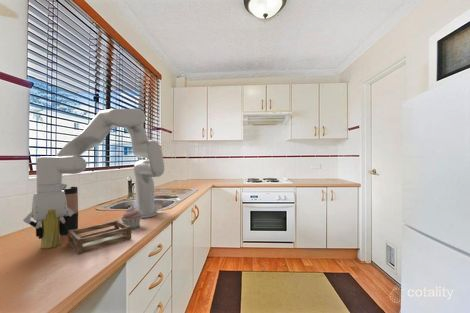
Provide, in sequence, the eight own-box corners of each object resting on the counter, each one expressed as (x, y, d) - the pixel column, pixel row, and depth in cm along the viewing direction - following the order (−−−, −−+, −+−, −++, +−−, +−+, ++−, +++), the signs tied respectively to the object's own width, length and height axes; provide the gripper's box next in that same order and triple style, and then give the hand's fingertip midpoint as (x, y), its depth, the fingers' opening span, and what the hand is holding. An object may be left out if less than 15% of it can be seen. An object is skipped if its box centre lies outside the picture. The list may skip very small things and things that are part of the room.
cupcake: (144, 228, 105) (143, 207, 105) (121, 231, 101) (121, 209, 100) (141, 223, 113) (140, 203, 113) (120, 226, 109) (120, 205, 108)
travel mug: (67, 235, 96) (66, 189, 96) (52, 234, 98) (51, 188, 97) (82, 229, 104) (82, 186, 103) (69, 228, 105) (68, 186, 105)
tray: (117, 231, 101) (117, 219, 101) (131, 239, 92) (131, 226, 92) (68, 243, 88) (67, 230, 88) (78, 254, 78) (77, 239, 78)
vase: (37, 250, 82) (36, 211, 82) (44, 243, 88) (43, 207, 87) (58, 247, 84) (57, 209, 84) (63, 241, 90) (62, 206, 90)
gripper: (74, 185, 95) (74, 227, 95) (17, 190, 82) (18, 239, 82) (79, 186, 90) (79, 231, 90) (19, 192, 77) (20, 245, 77)
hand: (50, 235), depth 86 cm, fingers closed on vase, 5 cm apart
